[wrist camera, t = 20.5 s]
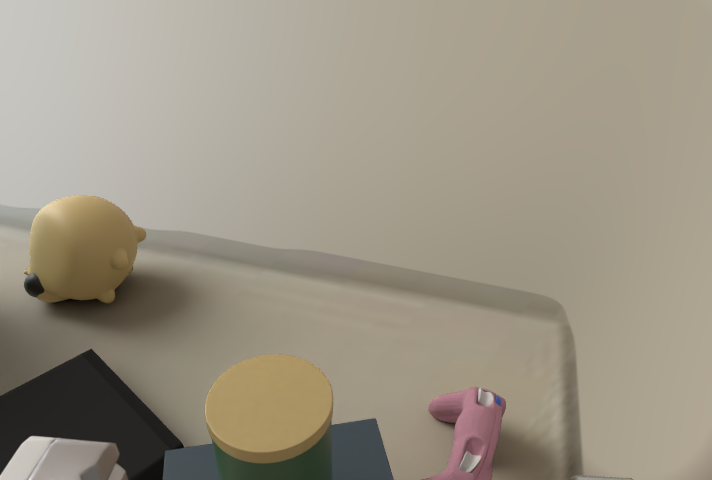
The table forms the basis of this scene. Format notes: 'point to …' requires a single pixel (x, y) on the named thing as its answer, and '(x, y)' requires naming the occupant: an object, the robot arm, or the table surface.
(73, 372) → the external hard drive
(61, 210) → the toy pig
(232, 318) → the table surface
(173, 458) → the storage box
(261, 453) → the tea tin
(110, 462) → the robot arm
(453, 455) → the video game controller
